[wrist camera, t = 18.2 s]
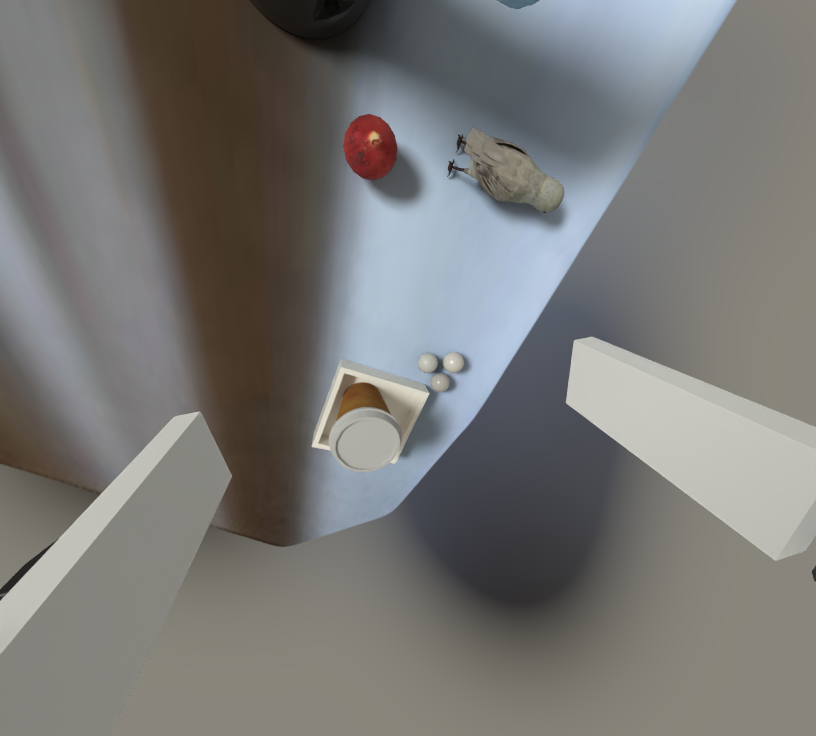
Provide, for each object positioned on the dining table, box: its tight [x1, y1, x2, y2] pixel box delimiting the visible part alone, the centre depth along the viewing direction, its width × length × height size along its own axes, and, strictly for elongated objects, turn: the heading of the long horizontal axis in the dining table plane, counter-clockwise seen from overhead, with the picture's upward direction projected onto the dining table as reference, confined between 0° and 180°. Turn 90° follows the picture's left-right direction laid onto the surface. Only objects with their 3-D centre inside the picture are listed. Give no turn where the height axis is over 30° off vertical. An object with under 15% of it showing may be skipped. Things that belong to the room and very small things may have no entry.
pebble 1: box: [418, 353, 438, 373], centre depth 47 cm, size 3×3×3 cm
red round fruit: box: [343, 114, 397, 180], centre depth 33 cm, size 6×6×8 cm
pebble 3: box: [443, 352, 464, 373], centre depth 48 cm, size 3×3×3 cm
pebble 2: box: [430, 373, 450, 392], centre depth 49 cm, size 3×3×3 cm
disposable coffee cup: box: [329, 382, 402, 472], centre depth 43 cm, size 10×10×12 cm
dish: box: [312, 359, 429, 464], centre depth 49 cm, size 15×15×3 cm
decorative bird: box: [447, 127, 564, 213], centre depth 37 cm, size 5×16×8 cm, turn 70°
